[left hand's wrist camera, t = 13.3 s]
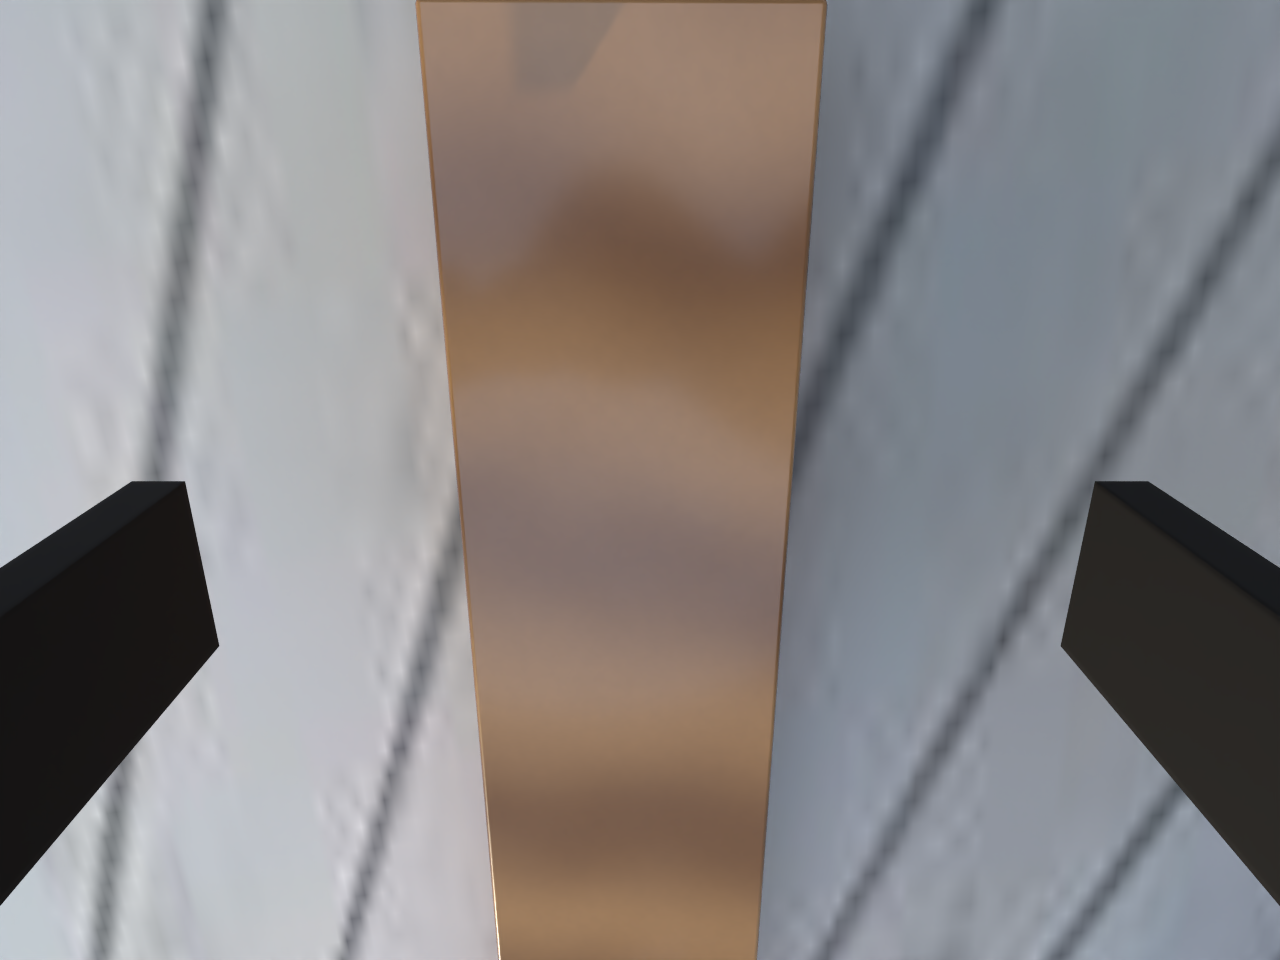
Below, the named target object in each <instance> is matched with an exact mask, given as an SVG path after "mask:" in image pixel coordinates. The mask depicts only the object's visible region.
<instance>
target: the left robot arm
mask: <svg viewBox="0 0 1280 960" xmlns="http://www.w3.org/2000/svg"><path fill="white" fill-rule="evenodd" d="M218 647H219V642H218V638H217V633H216V628H215V623H214V618H213V614H212V609H211V604H210V599H209V594H208V590H207V585H206V580H205V575H204V570H203V566H202V561H201V556H200V551H199V546H198V542H197V537H196V532H195V527H194V522H193V518H192V513H191V508H190V503H189V498H188V494H187V489H186V484H185V481H132V482H130V483H129V484H127V485H126V486H124V487H123V488H121V489H120V490H118V491H117V492H115V493H113V494H112V495H110V496H109V497H107V498H106V499H104V500H103V501H101V502H100V503H98V504H97V505H95V506H94V507H92V508H91V509H89V510H88V511H86V512H85V513H83V514H82V515H80V516H79V517H77V518H76V519H74V520H72V521H71V522H69V523H68V524H66V525H65V526H63V527H62V528H60V529H59V530H57V531H56V532H54V533H53V534H51V535H50V536H48V537H47V538H45V539H44V540H42V541H41V542H39V543H38V544H36V545H34V546H33V547H31V548H30V549H28V550H27V551H25V552H24V553H22V554H21V555H19V556H18V557H16V558H15V559H13V560H12V561H10V562H9V563H7V564H6V565H4V566H3V567H1V568H0V905H1V904H2V903H3V902H4V901H5V899H6V898H7V897H8V896H9V895H10V894H11V892H12V891H13V890H14V889H15V888H16V886H17V885H18V884H19V883H20V882H21V881H22V879H23V878H24V877H25V876H26V875H27V873H28V872H29V871H30V870H31V869H32V867H33V866H34V865H35V864H36V863H37V862H38V860H39V859H40V858H41V857H42V856H43V854H44V853H45V852H46V851H47V850H48V848H49V847H50V846H51V845H52V844H53V843H54V841H55V840H56V839H57V838H58V837H59V835H60V834H61V833H62V832H63V831H64V830H65V828H66V827H67V826H68V825H69V824H70V822H71V821H72V820H73V819H74V818H75V816H76V815H77V814H78V813H79V812H80V811H81V809H82V808H83V807H84V806H85V805H86V803H87V802H88V801H89V800H90V799H91V797H92V796H93V795H94V794H95V793H96V792H97V790H98V789H99V788H100V787H101V786H102V784H103V783H104V782H105V781H106V780H107V779H108V777H109V776H110V775H111V774H112V773H113V771H114V770H115V769H116V768H117V767H118V765H119V764H120V763H121V762H122V761H123V760H124V758H125V757H126V756H127V755H128V754H129V752H130V751H131V750H132V749H133V748H134V746H135V745H136V744H137V743H138V742H139V741H140V739H141V738H142V737H143V736H144V735H145V733H146V732H147V731H148V730H149V729H150V728H151V726H152V725H153V724H154V723H155V722H156V720H157V719H158V718H159V717H160V716H161V714H162V713H163V712H164V711H165V710H166V709H167V707H168V706H169V705H170V704H171V703H172V701H173V700H174V699H175V698H176V697H177V695H178V694H179V693H180V692H181V691H182V690H183V688H184V687H185V686H186V685H187V684H188V682H189V681H190V680H191V679H192V678H193V677H194V675H195V674H196V673H197V672H198V671H199V669H200V668H201V667H202V666H203V665H204V663H205V662H206V661H207V660H208V659H209V658H210V656H211V655H212V654H213V653H214V652H215V650H216V649H217V648H218ZM1061 647H1062V648H1063V649H1064V650H1065V652H1066V653H1067V654H1068V655H1069V656H1070V658H1071V659H1072V660H1073V661H1074V662H1075V663H1076V665H1077V666H1078V667H1079V668H1080V669H1081V671H1082V672H1083V673H1084V674H1085V675H1086V677H1087V678H1088V679H1089V680H1090V681H1091V682H1092V684H1093V685H1094V686H1095V687H1096V688H1097V690H1098V691H1099V692H1100V693H1101V694H1102V695H1103V697H1104V698H1105V699H1106V700H1107V701H1108V703H1109V704H1110V705H1111V706H1112V707H1113V709H1114V710H1115V711H1116V712H1117V713H1118V714H1119V716H1120V717H1121V718H1122V719H1123V720H1124V722H1125V723H1126V724H1127V725H1128V726H1129V728H1130V729H1131V730H1132V731H1133V732H1134V733H1135V735H1136V736H1137V737H1138V738H1139V739H1140V741H1141V742H1142V743H1143V744H1144V745H1145V746H1146V748H1147V749H1148V750H1149V751H1150V752H1151V754H1152V755H1153V756H1154V757H1155V758H1156V760H1157V761H1158V762H1159V763H1160V764H1161V765H1162V767H1163V768H1164V769H1165V770H1166V771H1167V773H1168V774H1169V775H1170V776H1171V777H1172V779H1173V780H1174V781H1175V782H1176V783H1177V784H1178V786H1179V787H1180V788H1181V789H1182V790H1183V792H1184V793H1185V794H1186V795H1187V796H1188V797H1189V799H1190V800H1191V801H1192V802H1193V803H1194V805H1195V806H1196V807H1197V808H1198V809H1199V811H1200V812H1201V813H1202V814H1203V815H1204V816H1205V818H1206V819H1207V820H1208V821H1209V822H1210V824H1211V825H1212V826H1213V827H1214V828H1215V830H1216V831H1217V832H1218V833H1219V834H1220V835H1221V837H1222V838H1223V839H1224V840H1225V841H1226V843H1227V844H1228V845H1229V846H1230V847H1231V848H1232V850H1233V851H1234V852H1235V853H1236V854H1237V856H1238V857H1239V858H1240V859H1241V860H1242V862H1243V863H1244V864H1245V865H1246V866H1247V867H1248V869H1249V870H1250V871H1251V872H1252V873H1253V875H1254V876H1255V877H1256V878H1257V879H1258V881H1259V882H1260V883H1261V884H1262V885H1263V886H1264V888H1265V889H1266V890H1267V891H1268V892H1269V894H1270V895H1271V896H1272V897H1273V898H1274V899H1275V901H1276V902H1277V903H1278V904H1279V905H1280V568H1279V567H1277V566H1276V565H1274V564H1273V563H1271V562H1270V561H1268V560H1267V559H1265V558H1264V557H1262V556H1261V555H1259V554H1258V553H1256V552H1255V551H1253V550H1252V549H1250V548H1249V547H1247V546H1246V545H1244V544H1242V543H1241V542H1239V541H1238V540H1236V539H1235V538H1233V537H1232V536H1230V535H1229V534H1227V533H1226V532H1224V531H1223V530H1221V529H1220V528H1218V527H1217V526H1215V525H1214V524H1212V523H1211V522H1209V521H1208V520H1206V519H1205V518H1203V517H1201V516H1200V515H1198V514H1197V513H1195V512H1194V511H1192V510H1191V509H1189V508H1188V507H1186V506H1185V505H1183V504H1182V503H1180V502H1179V501H1177V500H1176V499H1174V498H1173V497H1171V496H1170V495H1168V494H1167V493H1165V492H1163V491H1162V490H1160V489H1159V488H1157V487H1156V486H1154V485H1153V484H1151V483H1150V482H1148V481H1095V484H1094V489H1093V494H1092V498H1091V503H1090V508H1089V513H1088V518H1087V522H1086V527H1085V532H1084V537H1083V542H1082V546H1081V551H1080V556H1079V561H1078V566H1077V570H1076V575H1075V580H1074V585H1073V590H1072V594H1071V599H1070V604H1069V609H1068V614H1067V618H1066V623H1065V628H1064V633H1063V638H1062V642H1061Z"/></svg>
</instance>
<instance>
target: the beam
mask: <svg viewBox="0 0 1280 960" xmlns="http://www.w3.org/2000/svg"><path fill="white" fill-rule="evenodd" d="M415 4H416V15H417V27H418V38H419V50H420V62H421V73H422V85H423V96H424V108H425V119H426V131H427V142H428V154H429V165H430V177H431V188H432V200H433V211H434V223H435V234H436V246H437V258H438V269H439V281H440V292H441V304H442V315H443V327H444V338H445V350H446V361H447V373H448V384H449V396H450V407H451V419H452V430H453V442H454V453H455V465H456V477H457V488H458V500H459V511H460V523H461V534H462V546H463V557H464V569H465V580H466V592H467V603H468V615H469V626H470V638H471V649H472V661H473V673H474V684H475V696H476V707H477V719H478V730H479V742H480V753H481V765H482V776H483V788H484V799H485V811H486V822H487V834H488V845H489V857H490V868H491V880H492V892H493V903H494V915H495V926H496V938H497V949H498V960H757V951H758V938H759V924H760V911H761V897H762V884H763V870H764V856H765V843H766V829H767V816H768V802H769V789H770V775H771V761H772V748H773V734H774V721H775V707H776V694H777V680H778V666H779V653H780V639H781V626H782V612H783V599H784V585H785V571H786V558H787V544H788V531H789V517H790V504H791V490H792V476H793V463H794V449H795V436H796V422H797V409H798V395H799V382H800V368H801V354H802V341H803V327H804V314H805V300H806V287H807V273H808V259H809V246H810V232H811V219H812V205H813V192H814V178H815V164H816V151H817V137H818V124H819V110H820V97H821V83H822V69H823V56H824V42H825V29H826V15H827V2H826V0H416V3H415Z"/></svg>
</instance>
